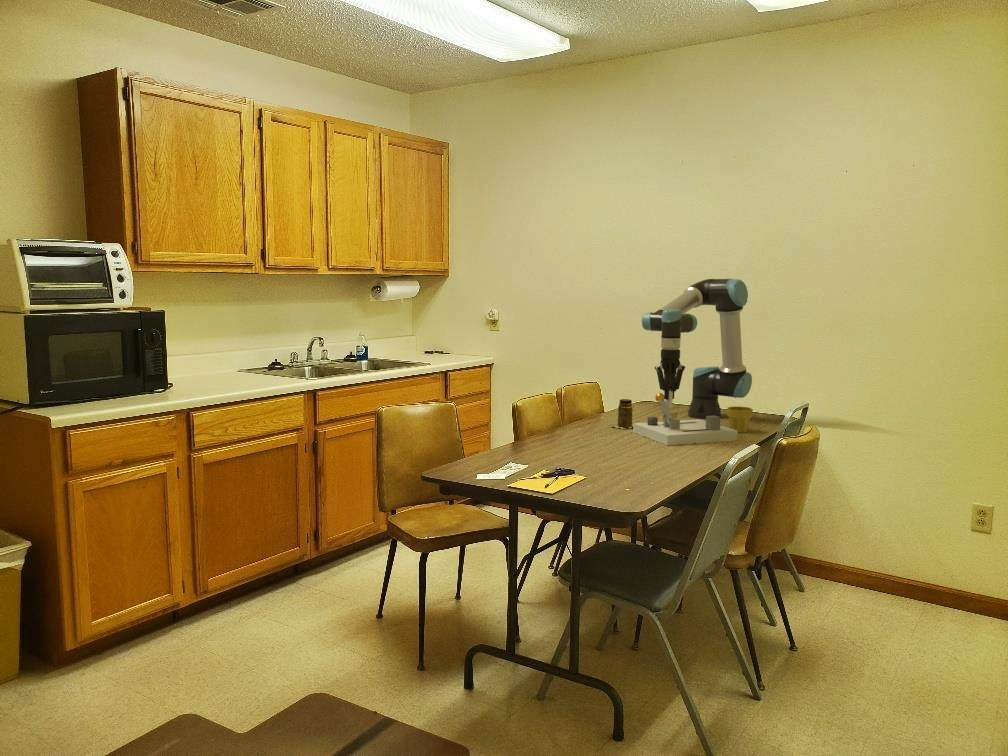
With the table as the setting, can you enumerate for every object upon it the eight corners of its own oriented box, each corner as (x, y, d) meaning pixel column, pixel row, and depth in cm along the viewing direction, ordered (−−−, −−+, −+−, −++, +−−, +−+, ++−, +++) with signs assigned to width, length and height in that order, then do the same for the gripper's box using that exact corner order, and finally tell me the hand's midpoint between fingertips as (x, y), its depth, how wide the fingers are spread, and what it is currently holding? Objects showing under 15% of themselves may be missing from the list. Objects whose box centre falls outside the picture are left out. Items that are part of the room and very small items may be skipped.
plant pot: (726, 432, 322) (727, 409, 321) (725, 428, 332) (726, 405, 331) (752, 434, 320) (753, 410, 319) (750, 429, 330) (751, 406, 329)
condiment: (636, 427, 332) (637, 400, 331) (624, 430, 326) (624, 402, 325) (622, 425, 337) (623, 398, 336) (610, 427, 332) (611, 400, 330)
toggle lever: (672, 421, 313) (659, 390, 309) (677, 422, 309) (664, 392, 306) (665, 425, 312) (652, 395, 308) (670, 427, 309) (657, 396, 305)
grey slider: (714, 427, 311) (714, 415, 310) (720, 429, 307) (720, 417, 306) (705, 428, 309) (706, 415, 309) (711, 430, 306) (712, 417, 305)
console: (698, 428, 331) (699, 411, 330) (736, 440, 307) (737, 421, 306) (633, 432, 320) (633, 415, 319) (667, 445, 296) (667, 426, 295)
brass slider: (671, 422, 321) (671, 410, 321) (676, 424, 317) (677, 412, 317) (663, 423, 320) (663, 411, 319) (668, 424, 316) (668, 412, 315)
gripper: (661, 349, 300) (659, 409, 303) (689, 349, 305) (688, 408, 308) (651, 348, 307) (649, 406, 310) (679, 347, 312) (677, 405, 315)
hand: (668, 407), depth 309 cm, fingers closed
